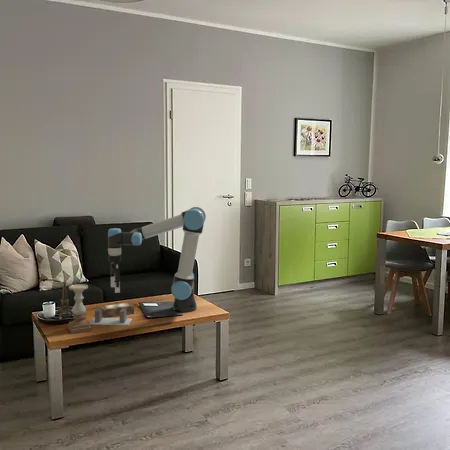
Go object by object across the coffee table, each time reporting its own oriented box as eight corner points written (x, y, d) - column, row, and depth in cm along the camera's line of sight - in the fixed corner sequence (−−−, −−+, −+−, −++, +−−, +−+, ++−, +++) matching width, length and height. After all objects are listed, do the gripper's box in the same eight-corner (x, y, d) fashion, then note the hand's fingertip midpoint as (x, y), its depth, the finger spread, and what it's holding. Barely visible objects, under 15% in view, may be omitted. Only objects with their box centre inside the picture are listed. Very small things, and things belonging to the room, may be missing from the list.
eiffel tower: (58, 320, 290) (57, 277, 287) (53, 315, 299) (52, 273, 296) (77, 317, 296) (76, 275, 293) (71, 312, 305) (70, 271, 302)
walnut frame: (129, 310, 312) (129, 301, 312) (134, 314, 305) (134, 305, 304) (100, 314, 304) (100, 305, 303) (104, 318, 296) (104, 309, 295)
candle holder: (66, 327, 278) (65, 285, 275) (86, 324, 283) (86, 282, 280) (71, 333, 268) (70, 289, 265) (92, 330, 273) (91, 287, 270)
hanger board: (132, 319, 293) (132, 307, 292) (128, 325, 282) (128, 313, 282) (94, 318, 294) (94, 306, 293) (88, 324, 283) (88, 312, 282)
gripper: (104, 251, 309) (105, 285, 312) (112, 258, 287) (112, 295, 289) (117, 250, 312) (117, 284, 315) (125, 258, 289) (125, 294, 292)
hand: (115, 289), depth 302 cm, fingers open, 13 cm apart
